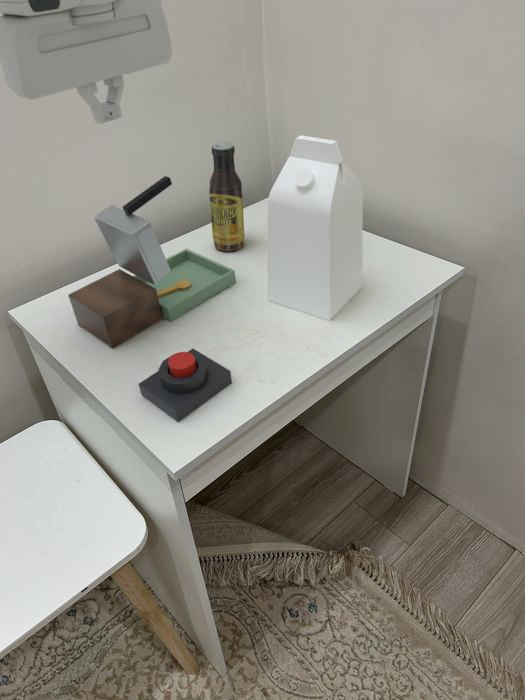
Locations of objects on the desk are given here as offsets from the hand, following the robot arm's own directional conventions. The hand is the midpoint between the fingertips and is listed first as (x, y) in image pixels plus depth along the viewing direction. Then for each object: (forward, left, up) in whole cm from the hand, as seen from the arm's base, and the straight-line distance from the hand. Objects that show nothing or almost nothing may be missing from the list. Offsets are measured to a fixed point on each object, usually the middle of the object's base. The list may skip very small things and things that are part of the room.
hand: (108, 120), depth 66 cm
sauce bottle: (+28, +12, -33) cm, 45 cm away
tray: (+11, +8, -33) cm, 36 cm away
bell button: (-5, -13, -29) cm, 33 cm away
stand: (-2, +8, -33) cm, 34 cm away
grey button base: (-5, -13, -33) cm, 36 cm away
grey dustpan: (+2, +8, -21) cm, 23 cm away
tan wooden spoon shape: (+9, +8, -32) cm, 34 cm away
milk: (+25, -12, -33) cm, 43 cm away
